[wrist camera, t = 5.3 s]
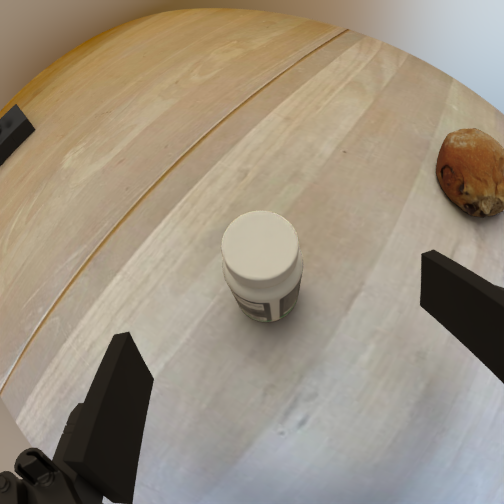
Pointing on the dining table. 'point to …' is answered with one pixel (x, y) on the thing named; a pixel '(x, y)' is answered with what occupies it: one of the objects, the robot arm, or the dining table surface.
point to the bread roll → (472, 172)
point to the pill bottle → (262, 264)
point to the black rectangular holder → (13, 131)
